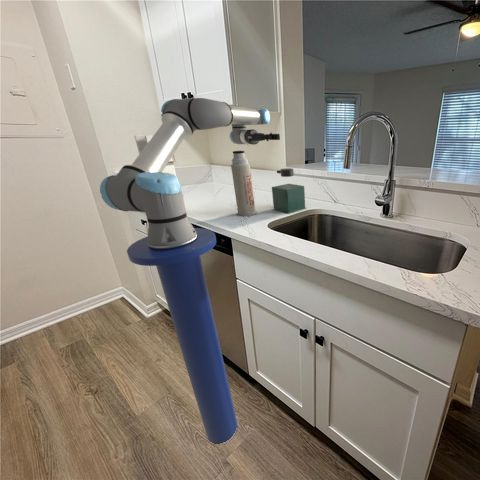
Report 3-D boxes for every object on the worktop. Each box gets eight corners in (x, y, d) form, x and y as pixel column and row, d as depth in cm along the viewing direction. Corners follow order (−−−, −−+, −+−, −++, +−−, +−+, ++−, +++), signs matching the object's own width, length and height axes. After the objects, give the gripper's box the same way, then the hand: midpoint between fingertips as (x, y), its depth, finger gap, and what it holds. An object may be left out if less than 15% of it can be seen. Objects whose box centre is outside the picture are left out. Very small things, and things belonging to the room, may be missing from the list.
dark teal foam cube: (271, 208, 129) (269, 186, 125) (288, 204, 136) (286, 183, 132) (288, 213, 121) (287, 189, 117) (305, 208, 129) (304, 186, 124)
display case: (170, 196, 160) (155, 135, 147) (181, 197, 156) (167, 135, 142) (151, 200, 151) (134, 135, 138) (163, 202, 147) (146, 135, 133)
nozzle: (273, 175, 124) (272, 168, 123) (283, 173, 128) (282, 167, 127) (286, 177, 118) (286, 170, 117) (296, 175, 122) (295, 168, 121)
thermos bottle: (258, 213, 123) (251, 150, 112) (244, 216, 117) (235, 151, 106) (249, 210, 128) (241, 150, 117) (234, 213, 122) (225, 151, 111)
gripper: (260, 143, 146) (289, 144, 132) (240, 145, 137) (268, 145, 123) (259, 129, 143) (288, 128, 129) (238, 129, 134) (267, 128, 120)
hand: (278, 136), depth 126 cm, fingers closed
